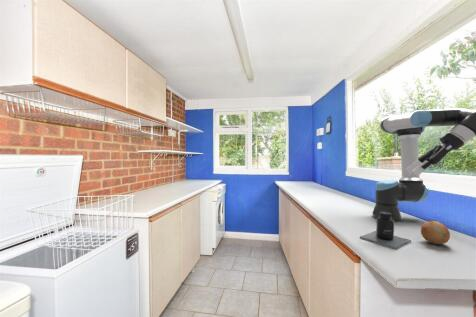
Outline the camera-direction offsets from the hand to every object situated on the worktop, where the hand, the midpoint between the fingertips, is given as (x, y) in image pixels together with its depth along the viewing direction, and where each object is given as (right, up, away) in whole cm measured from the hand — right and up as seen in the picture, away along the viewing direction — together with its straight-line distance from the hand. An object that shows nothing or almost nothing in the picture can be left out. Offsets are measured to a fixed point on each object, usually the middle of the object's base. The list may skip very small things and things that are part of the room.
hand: (411, 172), depth 100 cm
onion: (+8, -32, -3) cm, 33 cm away
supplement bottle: (-11, -31, +2) cm, 33 cm away
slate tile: (-11, -32, +2) cm, 34 cm away
